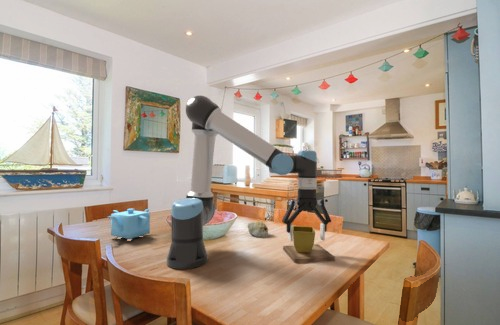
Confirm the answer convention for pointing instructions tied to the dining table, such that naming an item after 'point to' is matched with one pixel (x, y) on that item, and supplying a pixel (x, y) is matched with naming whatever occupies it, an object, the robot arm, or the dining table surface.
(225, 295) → the dining table surface
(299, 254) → the plate
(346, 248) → the dining table surface
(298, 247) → the flower pot
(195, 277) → the dining table surface
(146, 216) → the teakettle
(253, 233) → the grey rounded lump
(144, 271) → the dining table surface
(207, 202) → the robot arm
